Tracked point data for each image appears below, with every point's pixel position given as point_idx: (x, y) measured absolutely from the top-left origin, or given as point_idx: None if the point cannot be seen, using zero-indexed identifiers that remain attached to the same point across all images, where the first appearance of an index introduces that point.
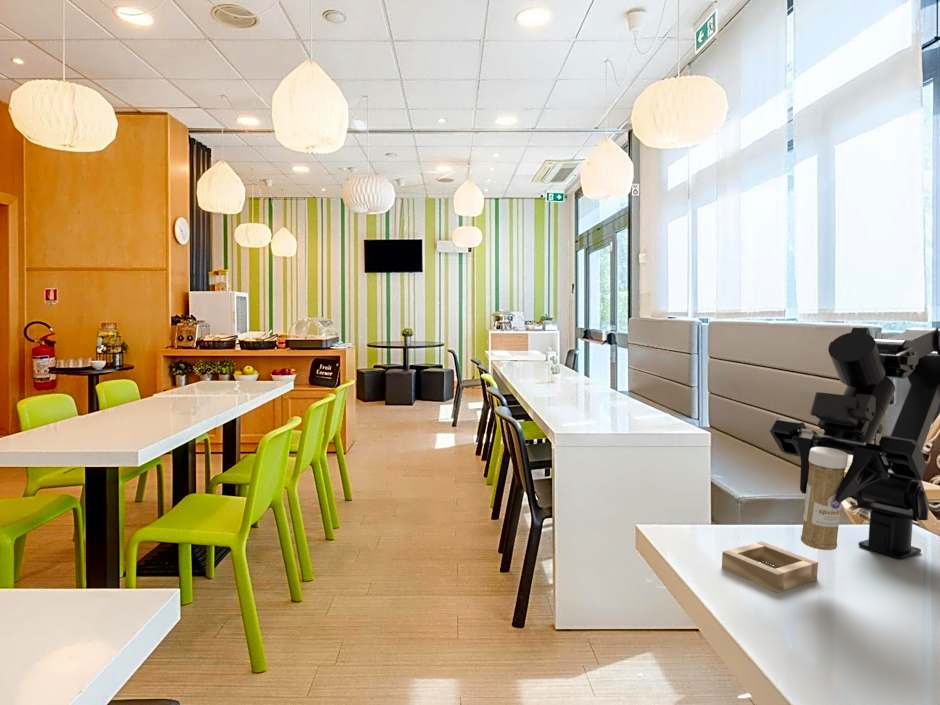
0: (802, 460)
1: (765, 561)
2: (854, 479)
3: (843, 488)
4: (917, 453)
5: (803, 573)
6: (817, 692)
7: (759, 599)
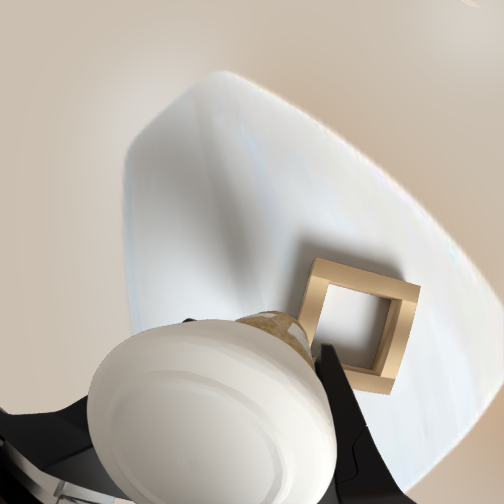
0: (371, 454)
1: (368, 369)
2: None
3: None
4: None
5: None
6: (201, 84)
7: (321, 217)
